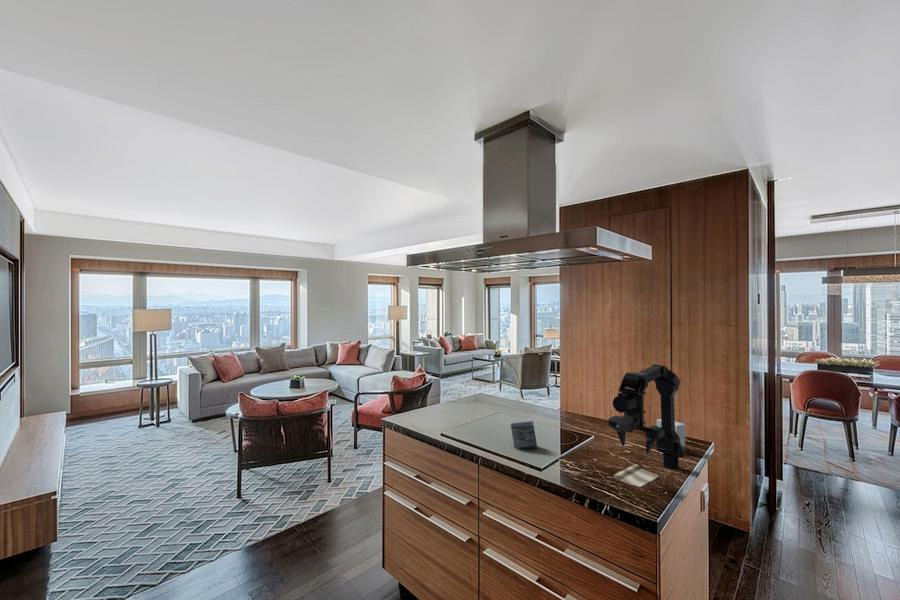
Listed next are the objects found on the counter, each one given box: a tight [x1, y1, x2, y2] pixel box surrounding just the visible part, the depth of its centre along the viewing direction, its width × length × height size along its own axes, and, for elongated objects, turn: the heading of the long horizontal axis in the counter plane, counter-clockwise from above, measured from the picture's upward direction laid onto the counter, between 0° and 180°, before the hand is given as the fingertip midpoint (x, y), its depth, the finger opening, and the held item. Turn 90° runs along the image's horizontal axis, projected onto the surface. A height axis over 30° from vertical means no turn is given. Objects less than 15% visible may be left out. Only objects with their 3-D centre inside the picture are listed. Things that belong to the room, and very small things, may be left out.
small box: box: [510, 421, 538, 450], centre depth 177 cm, size 11×6×10 cm, turn 80°
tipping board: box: [613, 463, 661, 488], centre depth 145 cm, size 16×10×2 cm, turn 126°
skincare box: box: [656, 418, 686, 448], centre depth 180 cm, size 10×6×10 cm, turn 27°
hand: (635, 449), depth 139 cm, fingers open, 9 cm apart
